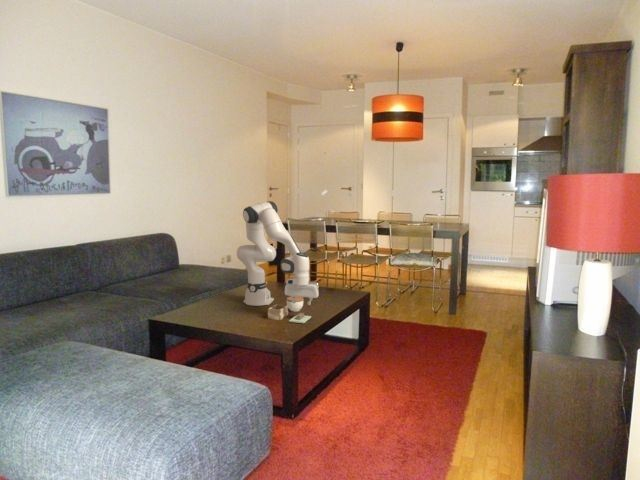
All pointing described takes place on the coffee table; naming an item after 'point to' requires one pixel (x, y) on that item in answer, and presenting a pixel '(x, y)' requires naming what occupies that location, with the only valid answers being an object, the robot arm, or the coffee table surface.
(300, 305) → the lidded jar
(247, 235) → the robot arm
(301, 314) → the lid
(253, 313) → the coffee table surface
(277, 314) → the box
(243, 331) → the coffee table surface
